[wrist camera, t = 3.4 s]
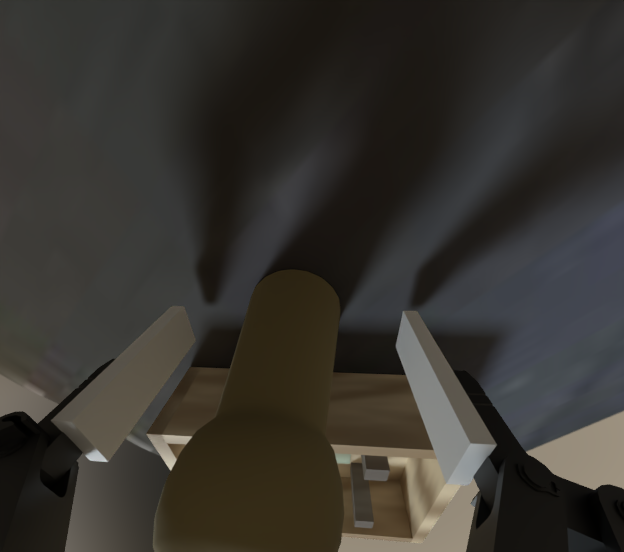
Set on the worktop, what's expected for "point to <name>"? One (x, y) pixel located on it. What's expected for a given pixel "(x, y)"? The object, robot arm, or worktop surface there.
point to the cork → (265, 436)
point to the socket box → (343, 449)
